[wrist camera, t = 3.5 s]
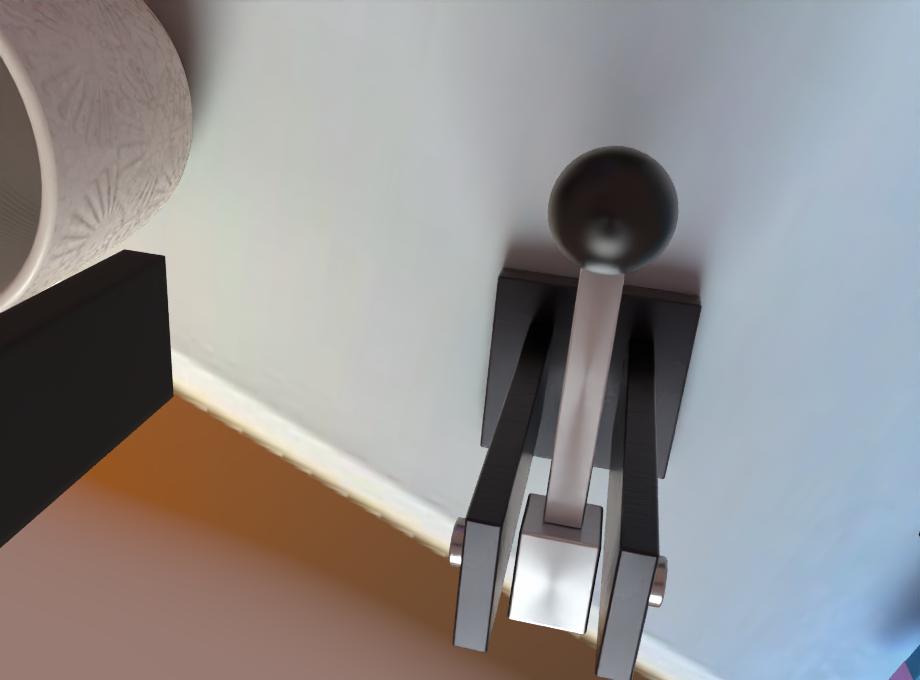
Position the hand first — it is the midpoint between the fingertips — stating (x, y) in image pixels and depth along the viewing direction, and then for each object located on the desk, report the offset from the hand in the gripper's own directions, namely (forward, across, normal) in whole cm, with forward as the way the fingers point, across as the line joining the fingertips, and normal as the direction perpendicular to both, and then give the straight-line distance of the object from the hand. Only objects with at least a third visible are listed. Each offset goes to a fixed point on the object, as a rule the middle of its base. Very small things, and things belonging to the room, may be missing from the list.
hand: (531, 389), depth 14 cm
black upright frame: (+20, +1, -9) cm, 22 cm away
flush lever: (+9, +1, -4) cm, 10 cm away
